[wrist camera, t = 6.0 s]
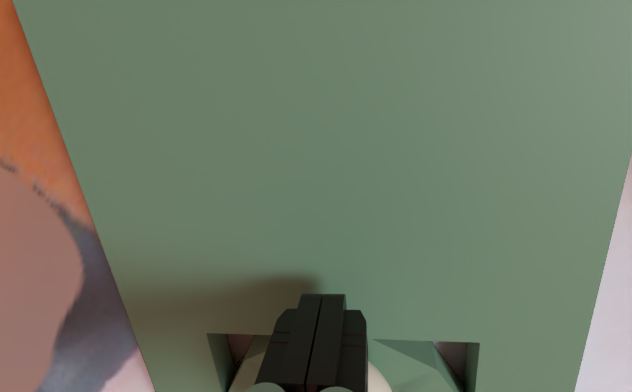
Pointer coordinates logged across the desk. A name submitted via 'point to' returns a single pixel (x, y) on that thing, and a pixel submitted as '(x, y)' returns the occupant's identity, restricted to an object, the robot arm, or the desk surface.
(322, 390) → the robot arm
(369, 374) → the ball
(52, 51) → the putting board
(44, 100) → the desk surface
